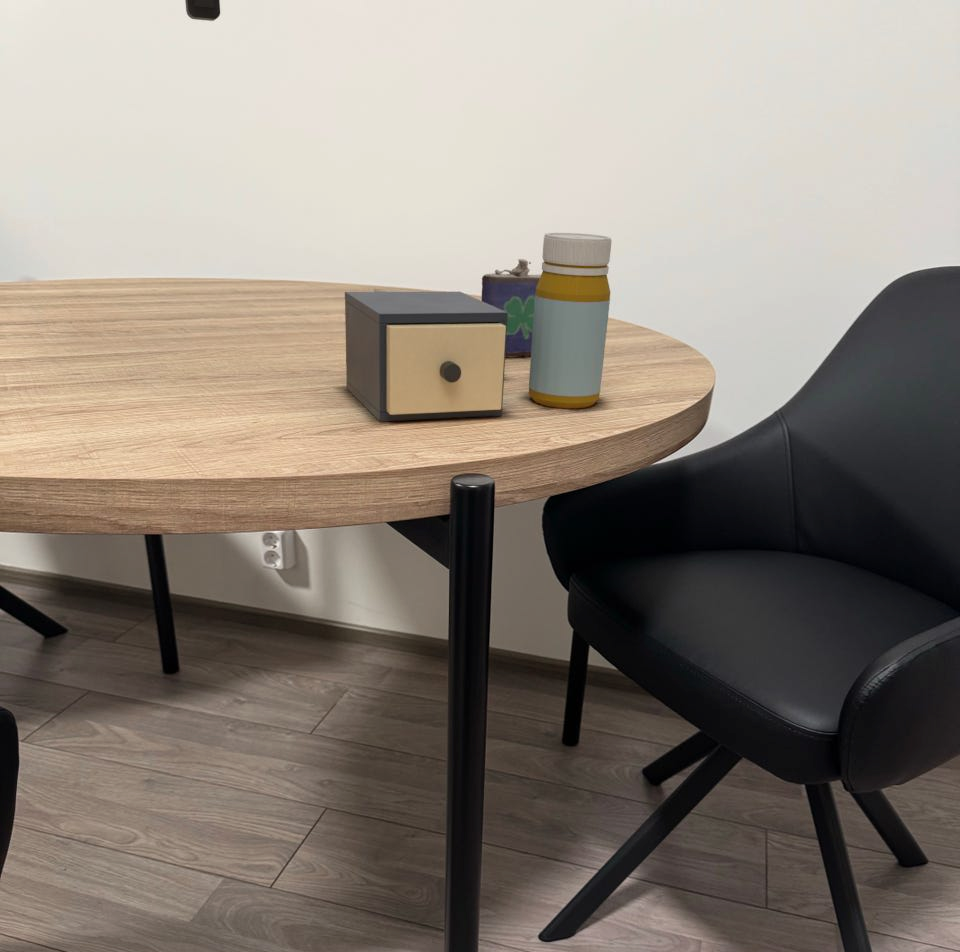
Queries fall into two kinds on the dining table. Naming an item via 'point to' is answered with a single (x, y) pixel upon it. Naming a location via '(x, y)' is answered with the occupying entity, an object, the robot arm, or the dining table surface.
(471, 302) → the cabinet
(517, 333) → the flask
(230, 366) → the dining table surface
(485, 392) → the drawer
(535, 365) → the bottle
